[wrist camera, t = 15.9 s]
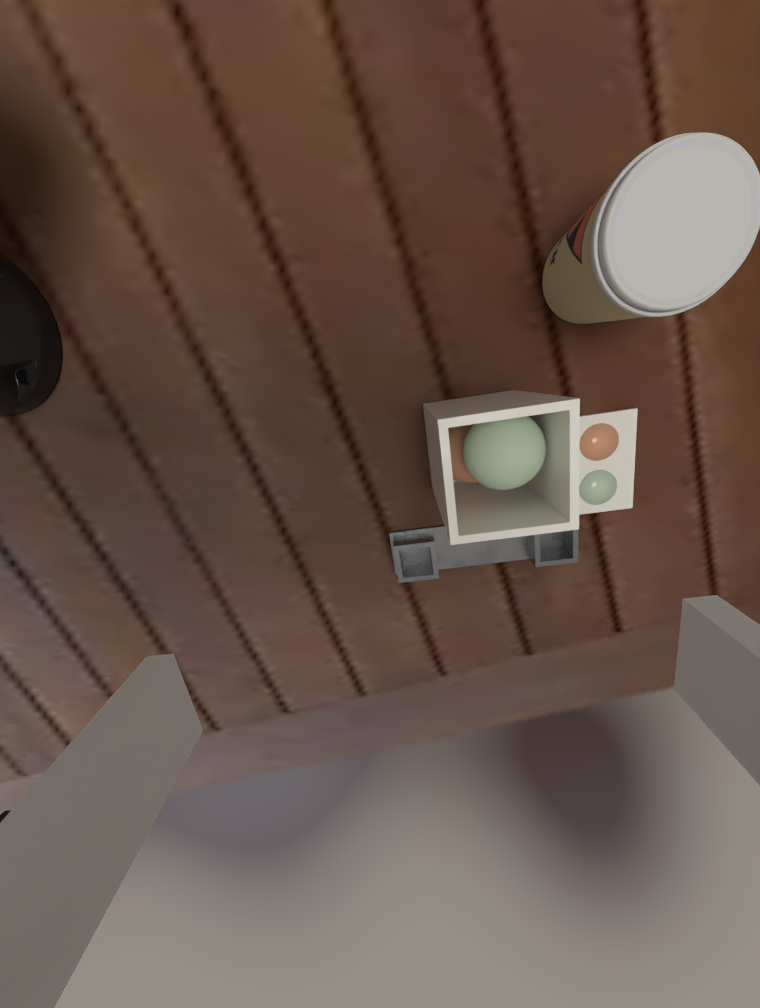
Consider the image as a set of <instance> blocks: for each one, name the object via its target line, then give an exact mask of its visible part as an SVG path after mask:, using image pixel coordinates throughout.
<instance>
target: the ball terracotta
mask: <svg viewBox="0 0 760 1008" xmlns="http://www.w3.org/2000/svg"><path fill="white" fill-rule="evenodd" d="M473 425H474V424H471V425H465V426H458V427H451V428H448V433H449V443H450V453H451V463H452V474H453V479H454V480H456V481H459V482H462V483H478V481H476V480H475V479H474V478H473V477H472V476H471V474H470V473H469V471H468V470H467V468H466V465H465V462H464V458H463V445H464V441H465V438H466V436H467V434H468V432H469V430H470V429H471V427H472V426H473Z"/></svg>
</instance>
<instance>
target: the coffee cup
mask: <svg viewBox="0 0 760 1008" xmlns="http://www.w3.org/2000/svg"><path fill="white" fill-rule="evenodd" d="M759 227H760V174H759V171H758V169H757V167H756V165H755V163H754V161H753V159H752V158H751V156H750V155H749V154H748V153H747V151H746V150H745V149H744V148H743V147H742V146H741V145H739V144H738V143H736V142H735V141H733V140H732V139H730V138H728V137H725V136H722V135H719V134H714V133H702V132H700V133H686V134H681V135H676V136H673V137H670V138H667V139H665V140H663V141H660V142H658V143H656V144H655V145H653V146H651V147H650V148H648V149H646V150H645V151H644V152H642V153H641V154H639V155H638V156H637V157H636V158H635V159H634V160H632V161H631V162H630V163H629V164H628V165H627V166H626V167H625V168H624V169H623V171H622V172H621V173H620V174H619V175H618V176H617V178H616V179H615V180H614V182H613V183H612V184H611V186H610V187H609V188H608V189H607V190H606V191H605V192H604V193H603V194H602V195H601V196H600V197H599V198H598V199H597V200H596V201H595V202H594V203H593V204H592V206H591V207H590V208H589V209H588V210H587V211H586V212H585V213H584V214H583V215H582V216H581V217H580V218H579V219H578V220H577V222H576V223H575V224H574V225H573V226H572V227H571V228H570V229H569V230H568V231H567V232H566V233H565V234H564V236H563V237H562V238H561V239H560V240H559V241H558V243H557V244H556V245H555V246H554V248H553V249H552V251H551V253H550V254H549V256H548V258H547V261H546V264H545V267H544V270H543V278H542V287H543V293H544V296H545V299H546V302H547V304H548V306H549V307H550V309H551V310H552V311H553V312H554V313H555V314H556V315H557V316H558V317H560V318H561V319H563V320H565V321H568V322H571V323H576V324H587V323H598V322H607V321H617V320H625V319H633V318H642V317H664V316H670V315H674V314H677V313H681V312H683V311H686V310H688V309H691V308H693V307H694V306H696V305H698V304H700V303H702V302H703V301H705V300H706V299H708V298H709V297H710V296H712V295H713V294H714V293H715V292H717V291H718V290H719V289H720V288H721V287H722V286H723V285H724V284H725V283H726V282H727V281H728V280H729V279H730V278H731V277H732V275H733V274H734V273H735V272H736V271H737V270H738V268H739V267H740V266H741V264H742V263H743V261H744V260H745V258H746V257H747V255H748V253H749V251H750V250H751V248H752V246H753V243H754V241H755V239H756V236H757V233H758V230H759Z"/></svg>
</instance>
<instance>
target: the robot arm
mask: <svg viewBox="0 0 760 1008" xmlns="http://www.w3.org/2000/svg"><path fill="white" fill-rule="evenodd" d="M60 367H61V344H60V338H59V333H58V330H57V326H56V323H55V320H54V318H53V315H52V313H51V311H50V309H49V307H48V305H47V303H46V302H45V300H44V298H43V297H42V295H41V294H40V292H39V291H38V289H37V288H36V287H35V286H34V284H33V283H32V282H31V281H30V280H29V279H28V278H27V277H26V276H25V275H24V273H23V272H21V271H20V270H19V269H18V268H17V267H16V266H14V265H13V264H12V263H11V262H9V261H8V260H6V259H5V258H3V257H2V256H0V416H5V415H14V414H20V413H24V412H27V411H29V410H31V409H33V408H35V407H37V406H38V405H40V404H41V403H42V402H43V401H44V400H45V399H46V398H47V397H48V396H49V395H50V393H51V392H52V390H53V388H54V387H55V384H56V382H57V379H58V376H59V373H60ZM674 689H675V690H676V692H677V693H678V694H679V695H680V696H681V697H682V698H683V699H684V701H685V702H686V703H687V704H688V705H689V706H690V707H691V708H692V709H693V711H694V712H695V713H696V714H697V715H698V716H699V717H700V718H701V720H702V721H703V722H704V723H705V724H706V725H707V726H708V728H709V729H710V730H711V731H712V732H713V733H714V734H715V735H716V737H717V738H718V739H719V740H720V741H721V742H722V743H723V744H724V746H725V747H726V748H727V749H728V750H729V751H730V752H731V753H732V755H733V756H734V757H735V758H736V759H737V760H738V761H739V762H740V763H741V765H742V766H743V767H744V768H745V769H746V770H747V771H748V773H749V774H750V775H751V776H752V777H753V778H754V779H755V781H756V782H757V783H758V784H759V785H760V625H759V624H758V623H756V622H755V621H753V620H752V619H750V618H749V617H748V616H746V615H745V614H743V613H742V612H740V611H739V610H737V609H736V608H734V607H733V606H732V605H730V604H729V603H727V602H726V601H724V600H723V599H721V598H720V597H718V596H717V595H713V596H704V597H695V598H685V599H683V605H682V615H681V624H680V634H679V644H678V654H677V664H676V674H675V684H674ZM202 732H203V730H202V727H201V724H200V722H199V719H198V717H197V714H196V711H195V709H194V706H193V704H192V701H191V698H190V696H189V693H188V691H187V688H186V685H185V683H184V680H183V678H182V675H181V672H180V670H179V667H178V664H177V662H176V659H175V657H174V654H164V655H155V656H147V657H146V658H145V659H144V660H143V661H142V662H141V664H140V665H139V666H138V667H137V668H136V669H135V670H134V671H133V673H132V674H131V675H130V676H129V677H128V678H127V679H126V681H125V682H124V683H123V684H122V685H121V686H120V687H119V689H118V690H117V691H116V692H115V693H114V694H113V695H112V696H111V698H110V699H109V700H108V701H107V702H106V703H105V704H104V706H103V707H102V708H101V709H100V710H99V711H98V712H97V714H96V715H95V716H94V717H93V718H92V719H91V720H90V721H89V723H88V724H87V725H86V726H85V727H84V728H83V729H82V731H81V732H80V733H79V734H78V735H77V736H76V737H75V739H74V740H73V741H72V742H71V743H70V744H69V745H68V746H67V748H66V749H65V750H64V751H63V752H62V753H61V754H60V756H59V757H58V758H57V759H56V760H55V761H54V762H53V764H52V765H51V766H50V767H49V768H48V769H47V770H46V771H45V773H44V774H43V775H42V776H41V777H40V778H39V779H38V781H37V782H36V783H35V784H34V785H33V786H32V787H31V789H30V790H29V791H28V792H27V793H26V794H25V795H24V796H23V798H22V799H21V800H20V801H19V802H18V803H17V804H16V806H15V807H14V808H13V809H12V810H10V811H5V812H3V813H2V814H1V815H0V1008H54V1007H55V1005H56V1003H57V1001H58V999H59V998H60V996H61V994H62V992H63V990H64V988H65V986H66V985H67V982H68V981H69V979H70V977H71V975H72V973H73V972H74V970H75V968H76V966H77V964H78V962H79V960H80V959H81V957H82V955H83V953H84V951H85V949H86V947H87V946H88V944H89V942H90V940H91V938H92V936H93V934H94V932H95V931H96V929H97V927H98V925H99V923H100V921H101V920H102V918H103V916H104V914H105V912H106V910H107V908H108V906H109V905H110V903H111V901H112V899H113V897H114V895H115V894H116V892H117V890H118V888H119V886H120V884H121V882H122V881H123V879H124V877H125V875H126V873H127V871H128V869H129V867H130V866H131V864H132V862H133V860H134V858H135V856H136V855H137V853H138V851H139V849H140V847H141V845H142V843H143V842H144V840H145V838H146V836H147V834H148V832H149V830H150V829H151V827H152V825H153V823H154V821H155V819H156V817H157V815H158V814H159V812H160V810H161V808H162V806H163V804H164V802H165V801H166V799H167V797H168V795H169V793H170V791H171V790H172V788H173V786H174V784H175V782H176V780H177V778H178V777H179V775H180V773H181V771H182V769H183V767H184V765H185V764H186V762H187V760H188V758H189V756H190V754H191V752H192V750H193V749H194V747H195V745H196V743H197V741H198V739H199V737H200V736H201V734H202Z"/></svg>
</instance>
